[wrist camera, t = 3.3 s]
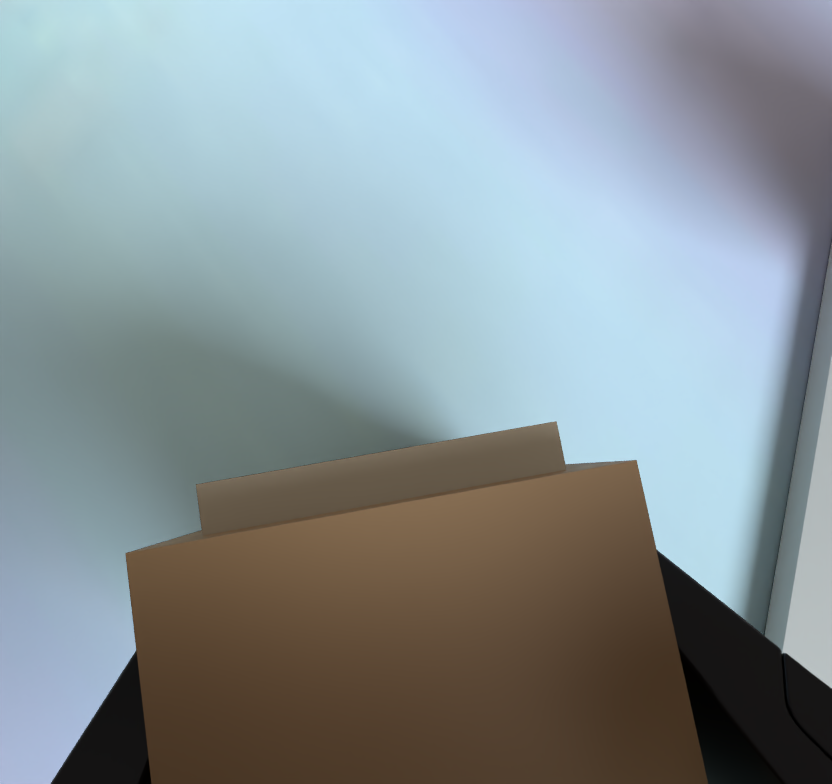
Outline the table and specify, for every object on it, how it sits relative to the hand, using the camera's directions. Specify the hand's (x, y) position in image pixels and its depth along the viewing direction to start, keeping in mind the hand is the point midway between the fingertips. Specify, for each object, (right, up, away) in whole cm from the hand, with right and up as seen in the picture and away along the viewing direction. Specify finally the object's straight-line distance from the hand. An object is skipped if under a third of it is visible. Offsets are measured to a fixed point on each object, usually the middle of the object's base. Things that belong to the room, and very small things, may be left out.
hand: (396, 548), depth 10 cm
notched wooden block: (0, -2, +6) cm, 7 cm away
